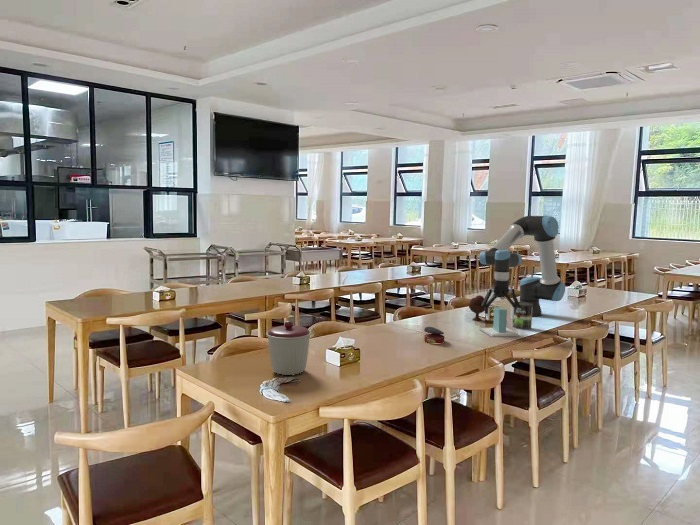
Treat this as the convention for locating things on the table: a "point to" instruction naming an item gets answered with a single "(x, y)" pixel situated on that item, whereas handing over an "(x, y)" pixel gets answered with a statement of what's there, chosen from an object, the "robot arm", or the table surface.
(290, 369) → the canister
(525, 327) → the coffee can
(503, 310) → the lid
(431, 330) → the canned food
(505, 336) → the mat
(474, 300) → the ice cream bowl
